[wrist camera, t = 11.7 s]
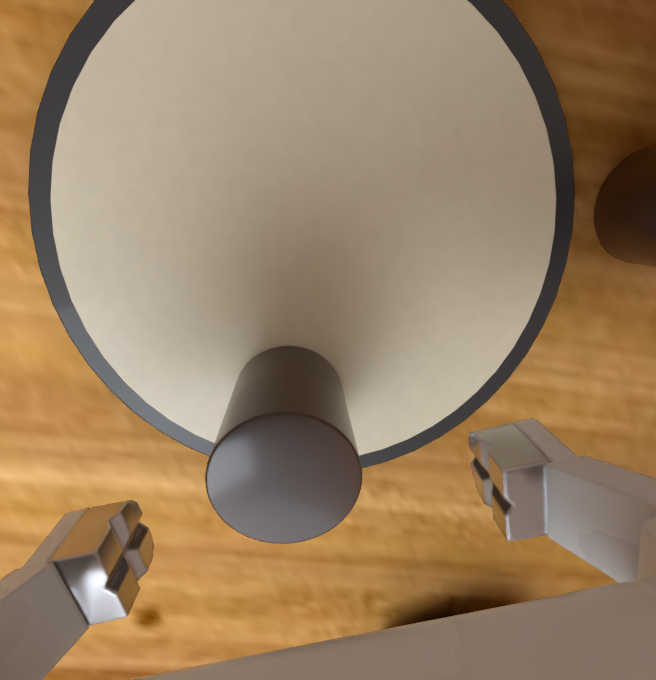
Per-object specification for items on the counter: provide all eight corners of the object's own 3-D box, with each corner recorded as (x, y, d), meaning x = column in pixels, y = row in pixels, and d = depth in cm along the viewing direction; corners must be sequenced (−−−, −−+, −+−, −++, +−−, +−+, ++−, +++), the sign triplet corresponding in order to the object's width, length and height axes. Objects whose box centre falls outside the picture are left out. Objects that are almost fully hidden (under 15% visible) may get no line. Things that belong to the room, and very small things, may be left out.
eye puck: (331, 334, 14) (347, 397, 10) (350, 430, 16) (374, 526, 11) (221, 358, 14) (183, 431, 9) (250, 451, 15) (229, 558, 11)
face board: (564, -145, 11) (578, -164, 10) (566, 417, 17) (576, 424, 16) (-74, -13, 11) (-94, -25, 10) (148, 507, 17) (143, 517, 16)
